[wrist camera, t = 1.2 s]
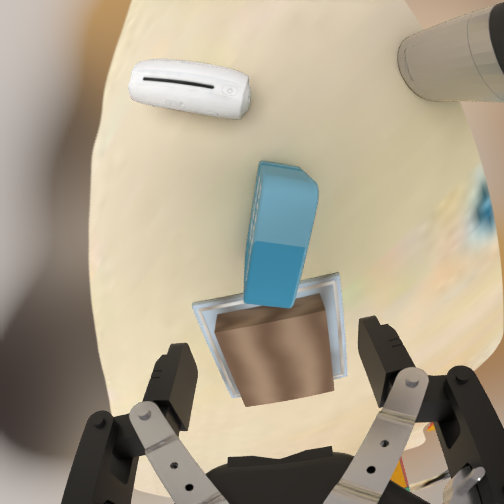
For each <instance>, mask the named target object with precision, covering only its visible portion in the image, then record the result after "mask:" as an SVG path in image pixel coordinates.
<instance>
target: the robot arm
mask: <svg viewBox="0 0 504 504" xmlns="http://www.w3.org/2000/svg"><path fill="white" fill-rule="evenodd" d="M398 63H399V68H400V71H401V74H402V76H403V78H404V80H405V82H406V83H407V85H408V86H409V87H410V88H411V89H412V90H413V91H414V92H415V93H416V94H417V95H419V96H420V97H422V98H424V99H426V100H430V101H485V102H504V2H503V3H500V4H497V5H493V6H489V7H486V8H483V9H480V10H477V11H475V12H472V13H468V14H465V15H463V16H460V17H457V18H454V19H451V20H449V21H446V22H444V23H441V24H439V25H436V26H433V27H431V28H429V29H426V30H423V31H421V32H419V33H417V34H414V35H412V36H410V37H408V38H406V39H405V40H404V41H403V42H402V44H401V46H400V48H399V52H398ZM358 350H359V355H360V358H361V360H362V363H363V366H364V368H365V371H366V373H367V376H368V379H369V382H370V384H371V387H372V390H373V393H374V395H375V398H376V401H377V404H378V407H379V408H381V407H383V408H382V410H381V411H379V413H378V414H377V416H376V418H375V420H374V422H373V424H372V426H371V428H370V430H369V432H368V434H367V436H366V437H365V439H364V441H363V443H362V445H361V446H360V448H359V450H358V452H357V453H356V455H355V456H352V455H349V454H345V453H339V452H333V451H332V446H328V447H323V448H317V449H311V450H305V451H303V452H300V453H297V454H294V455H291V456H288V457H285V458H282V459H272V458H264V457H257V456H243V457H228V463H227V464H224V465H221V466H219V467H216V468H214V469H212V470H211V471H209V472H208V473H206V474H205V473H204V472H203V470H202V469H201V468H200V467H199V465H198V464H197V463H196V461H195V460H194V459H193V457H192V456H191V455H190V453H189V452H188V450H187V449H186V448H185V446H184V445H183V443H182V442H181V441H180V439H179V438H178V436H179V431H188V427H189V421H190V415H191V410H192V405H193V399H194V394H195V388H196V383H197V378H198V370H197V366H196V363H195V360H194V358H193V356H192V353H191V351H190V348H189V346H188V344H187V343H176V344H171V345H170V347H169V350H168V353H167V355H162V356H161V357H160V358H159V359H158V360H157V362H156V363H155V366H154V369H153V372H152V375H151V379H150V381H149V384H148V387H147V390H146V392H145V395H144V398H143V401H142V402H140V403H138V404H136V405H135V406H134V407H133V408H132V409H131V411H130V413H129V414H125V415H121V416H116V417H113V416H112V415H111V414H110V413H109V412H107V411H98V412H96V413H94V414H92V415H91V416H90V418H89V419H88V421H87V423H86V426H85V429H84V432H83V435H82V437H81V441H80V443H79V446H78V449H77V452H76V455H75V458H74V461H73V465H72V468H71V471H70V474H69V478H68V481H67V485H66V488H65V491H64V495H63V498H62V502H61V504H131V498H132V492H133V487H134V481H135V475H136V470H137V465H138V460H139V456H142V455H146V456H147V458H148V460H149V461H150V463H151V465H152V467H153V468H154V470H155V472H156V474H157V475H158V477H159V479H160V480H161V482H162V483H163V485H164V487H165V488H166V490H167V491H168V493H169V494H170V496H171V498H172V499H173V501H174V502H175V503H174V504H430V503H428V502H427V501H424V500H423V499H421V498H420V497H418V496H416V495H415V494H412V493H411V492H410V491H408V490H406V489H405V488H403V487H402V486H400V485H398V484H397V483H395V482H394V481H392V480H390V478H391V476H392V474H393V472H394V470H395V468H396V466H397V464H398V462H399V460H400V457H401V455H402V453H403V451H404V448H405V446H406V444H407V441H408V439H409V436H410V434H411V431H412V429H413V426H414V424H415V423H417V422H433V424H434V427H435V430H436V433H437V436H438V438H439V441H440V444H441V447H442V450H443V453H444V457H445V460H446V463H447V466H448V469H449V473H450V476H451V480H450V481H449V482H448V484H447V485H446V486H445V488H444V491H443V504H504V428H503V426H502V424H501V422H500V420H499V418H498V416H497V414H496V412H495V410H494V408H493V406H492V404H491V402H490V400H489V398H488V396H487V394H486V393H485V391H484V389H483V387H482V385H481V384H480V381H479V380H478V378H477V376H476V374H475V373H474V371H473V370H472V369H470V368H469V367H466V366H455V367H453V368H451V369H450V370H449V372H448V373H447V375H441V376H430V375H427V374H426V372H424V371H423V370H422V369H419V368H416V367H415V365H414V363H413V361H412V359H411V357H410V356H409V354H408V352H407V350H406V348H405V347H404V345H403V343H402V341H401V339H399V336H398V334H397V332H396V331H395V329H393V328H392V327H391V326H389V325H388V324H384V325H380V323H379V321H378V319H377V317H376V316H370V317H365V318H361V319H359V329H358Z"/></svg>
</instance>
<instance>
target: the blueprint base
mask: <svg viewBox="0 0 504 504" xmlns="http://www.w3.org/2000/svg"><path fill="white" fill-rule="evenodd" d="M243 296H244V293H242V294H237V295H232V296H226V297H221V298H216V299H211V300H206V301H201V302H195V303H193V304H192V308H193V311H194V313H195V316H196V318H197V320H198V323H199V325H200V328H201V330H202V332H203V335H204V337H205V339H206V342H207V344H208V346H209V349H210V351H211V353H212V356H213V358H214V360H215V362H216V365H217V367H218V369H219V371H220V374H221V376H222V378H223V380H224V382H225V384H226V387H227V389H228V391H229V393H230V395H231V397H232V398H235V397H241V398H242V400H243V402H244V404H245V407H249V406H256V405H263V404H269V403H275V402H281V401H287V400H292V399H298V398H303V397H308V396H312V395H317V394H322V393H326V392H330V391H334V382H333V380H334V379H338V378H342V377H346V376H347V357H346V341H345V326H344V314H343V303H342V292H341V283H340V275H339V273H334V274H329V275H325V276H321V277H316V278H312V279H307V280H303V281H300V283H299V287H298V291H297V295H296V299H295V302H294V304H293V306H292V307H291V308H280V307H271V306H262V305H254V304H246V303H244V301H243Z"/></svg>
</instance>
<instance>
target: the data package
mask: <svg viewBox="0 0 504 504" xmlns="http://www.w3.org/2000/svg"><path fill="white" fill-rule="evenodd" d="M317 204H318V185H317V183H316V182H315V181H314V180H313V179H312V178H311V177H310V176H308V175H307V174H306V173H305V172H304V171H303V170H302V169H301V168H300V167H296V166H291V165H285V164H278V163H272V162H266V161H261V162H260V163H259V167H258V173H257V179H256V186H255V192H254V199H253V205H252V212H251V218H250V225H249V232H248V238H247V245H246V253H245V270H244V296H243V301H244V303H246V304H254V305H262V306H271V307H280V308H291V307H292V306H293V304H294V302H295V299H296V295H297V291H298V287H299V283H300V279H301V274H302V270H303V266H304V262H305V258H306V253H307V249H308V245H309V240H310V236H311V232H312V227H313V223H314V218H315V213H316V209H317Z"/></svg>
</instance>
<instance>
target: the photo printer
mask: <svg viewBox="0 0 504 504" xmlns="http://www.w3.org/2000/svg"><path fill="white" fill-rule="evenodd" d="M128 89H129V95H130V97H131V99H132V100H134V101H137V102H139V103H142V104H146V105H151V106H157V107H163V108H169V109H174V110H180V111H186V112H192V113H198V114H203V115H209V116H215V117H221V118H228V119H241V117H242V115H243V114H244V113H245V112H246V111H247V110H248V108H249V105H250V99H251V88H250V85H249V76H248V75H246V74H244V73H242V72H239V71H236V70H233V69H230V68H226V67H221V66H217V65H212V64H207V63H200V62H193V61H185V60H174V59H150V60H144V61H140V62H138V63H137V64H136V65H135V66H134V68H133V70H132V72H131V79H130V82H129V84H128Z"/></svg>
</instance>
